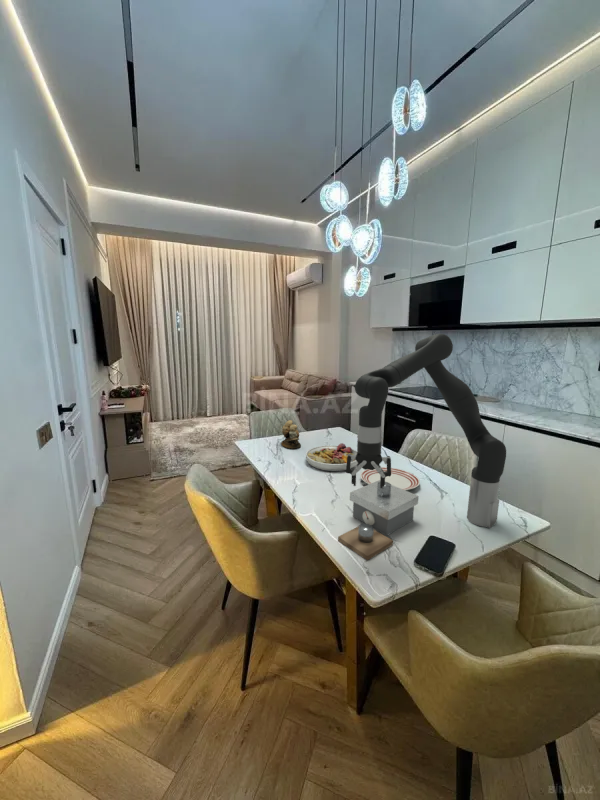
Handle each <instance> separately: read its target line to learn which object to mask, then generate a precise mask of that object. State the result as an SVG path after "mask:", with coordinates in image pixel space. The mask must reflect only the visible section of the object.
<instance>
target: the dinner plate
mask: <svg viewBox="0 0 600 800" xmlns="http://www.w3.org/2000/svg"><path fill="white" fill-rule="evenodd" d="M381 468H382V469H383V471H384V472H385V471H387V466H381ZM359 476H360V478H361V480H362V481H363V482H364V483H365V484H367V485H369V484H371V483H374V482H376V481H379V480H380V474H379V473H378V472H377V471H376V469H374V470H369V469H367V470H365V469H363V470H362V472H360V474H359ZM385 482H388V483H390V484H391V485H393V486H396V487H398V488H400V489H403V490H405V491H410V490H413V489H415V488H417V487H418V486H419V485H420V479H419V477H417V476H416V475H415V474H414V473H411V472H410V471H407V470H404V469H400V468H395V467H391V476H387V477H385Z"/></svg>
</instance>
